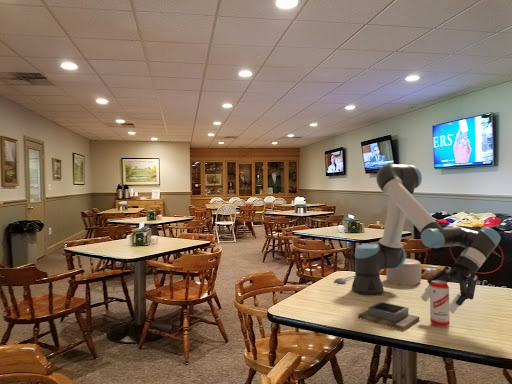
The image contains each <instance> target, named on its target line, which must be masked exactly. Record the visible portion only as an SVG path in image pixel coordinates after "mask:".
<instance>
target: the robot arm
mask: <svg viewBox="0 0 512 384" xmlns="http://www.w3.org/2000/svg"><path fill="white" fill-rule="evenodd" d="M422 179H423V176H422V173H421V171H420V169H419V168H418V167H417V166H416V165H413V164H412V165H411V164H406V163H405V164H402V163H401V164H396V163H395V164H394V163H389V164H385V165H383V166H382V167H380V168H379V170H378V171H377V174H376V184H377V185H378V188H379V189H380V190H381V192H382V193H383V194H384V195H388V197H389V203H388V207H387V211H386V212H387V214H386V217H385V224H384V229H383V234H382V235H383V236H382V237H381V238H380V239H379V240H378V243H363V244H358V245H357V246H356V247H355V252H354V269H355V270H354V271H355V274H354V276H355V277H353V282H352V283H351V284H352V285H351V291H352V292H353V293H355V294H357V295H361V296H382V295H383V294H384V285H383V284H382V280H381V277H380V274H381V273H380V270H386V269H388V268H396V267H399V266H401V265H402V264H403V263H404V261H405V258H406V256H407V255H406V252H405V249H404V247H403V245H404V244H403V243H402V241H401V239H402V235H403V230H404V225H405V220H406V218H407V219H408V220H409V221H410V222H411V223H412V225H414V227H415V228H417V230H418V231H419V233H420V240H421V243H422V245H424V246H425V247H426V248H432V249H439V248H447V247H462V248H464V250H463V251H462V252H461V253H460V255H459V256H458V258H457V259H455V261H454V263H453V267H452V268H450V267H449V266H447V265H446V266H445V267H443V269H441V271H438V272H437V273H436V274H434V275H433V276H431V277H430V278H428V279H427V280H426V282H427V283H428V286H427V287H426V288H425V289H424V292H423V293H422V294H421V296H420V299H422V300H423V302H425V303H427V302H428V301H429V300H430V284H431V283H432V280H442V281H446V282H447V283H449V282H451V283H452V282H455V283H458V284H459V291H460V292H459V294H458V293H457V294H456V295H455V297H453V299H452V300H451V302H449V306H448V307H447V308H448V309H449V313H451V314H455V312H456V311H457V310H458V308H459V307H461V306H462V305H463V303H465V301H466V300H468V299H469V300H473V299H474V297H475V290H476V286H477V282H478V281H479V277H478V276H477V275H476V273H477V272H478V271H479V269H480V268H481V267H482V265H483V264H484V263H485V261H486V260H487V259H488V257H489V256H490V254H491V253H492V252H493V251H494V250H495V248H497V246H498V245H499V244H500V241H501V239H502V238H501V235H500V233H498V232H497V230H496V229H493V228H490V227H488V226H485V227H484V226H483V227H481V228H480V229H478V230H473V229H469V228H465V227H462V226H459V225H454V224H447V225H446V226H445V227H442V226H441V225H440V223H438V221H437V220H435V218H434V217H433V216H432V215H431V214H430V213H429V212H428V210H426V209H425V207H424V206H422V204H421V203H420V202H419V201H418V200H417V198H415V197H414V196H413V195H414V192H415V189H418V187H420V185H421V184H422ZM406 259H407V258H406Z"/></svg>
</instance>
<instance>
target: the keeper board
mask: <svg viewBox="0 0 512 384" xmlns="http://www.w3.org/2000/svg"><path fill="white" fill-rule="evenodd" d="M383 311H384V310H383ZM387 312H388V311H387ZM391 313H393V312H391ZM357 318H358V319H360V318H361V320H363V319H365V320H364V321H367V320H368V322H371V321H372V322H371V323H374V322H375V323H374V324H378V323H379V324H378V325H381V324H383V325H382V326H385V325H387V326H386V327H389V326H390V327H389V328H392V327H394V329H396V328H397V330H399V329H401V330H400V331H403V330H404V331H406V330H407V329H409V328H410V327H412V326H414V325H415V324H417V323H418V322H419V321H420V316H417V315H414V314H413V315H412V314H409V313H408V316H407V317H405V318H403V319H402V320H400V321H398V322H397V323H395V322H391V321H387V320H383V319H380V318H376V317H372V316H368V309H366V310H364V311H362V312H360V313H358V314H357ZM413 324H414V325H413ZM408 327H409V328H408ZM405 329H406V330H405Z"/></svg>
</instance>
